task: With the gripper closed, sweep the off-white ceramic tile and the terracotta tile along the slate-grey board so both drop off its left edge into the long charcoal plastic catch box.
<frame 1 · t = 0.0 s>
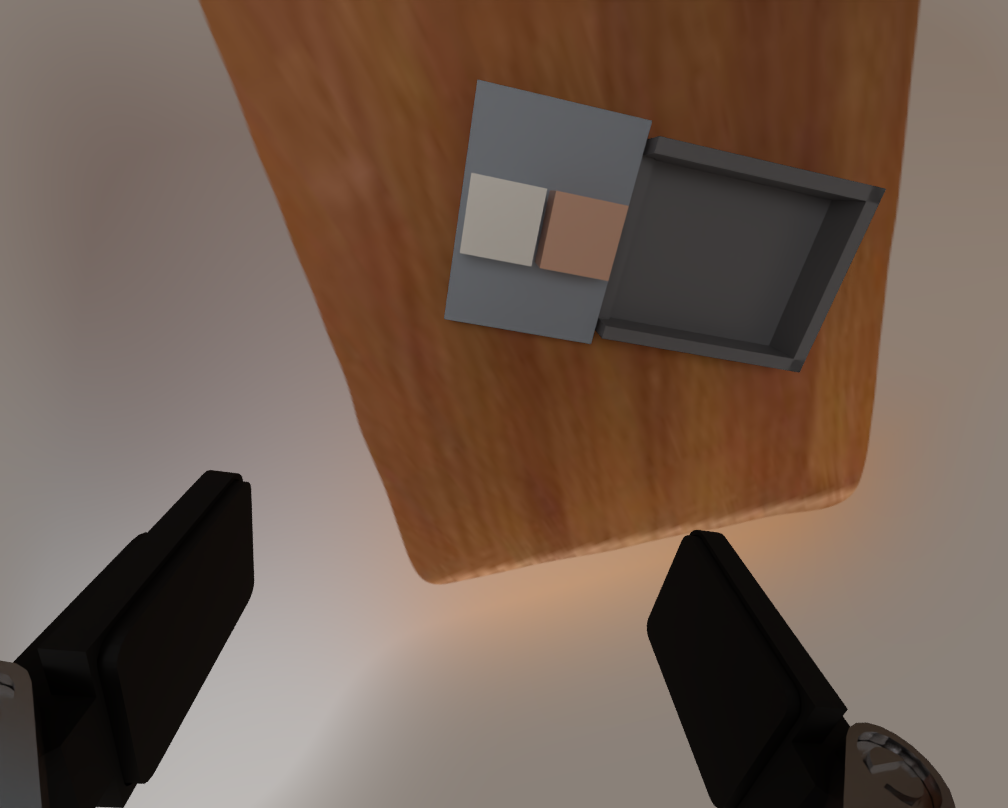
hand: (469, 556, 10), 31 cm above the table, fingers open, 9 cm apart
tile b: (574, 233, 35), point 2 cm above the table, touching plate
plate: (536, 224, 37), on the table
tile a: (500, 218, 34), point 2 cm above the table, touching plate
catch box: (712, 259, 39), on the table
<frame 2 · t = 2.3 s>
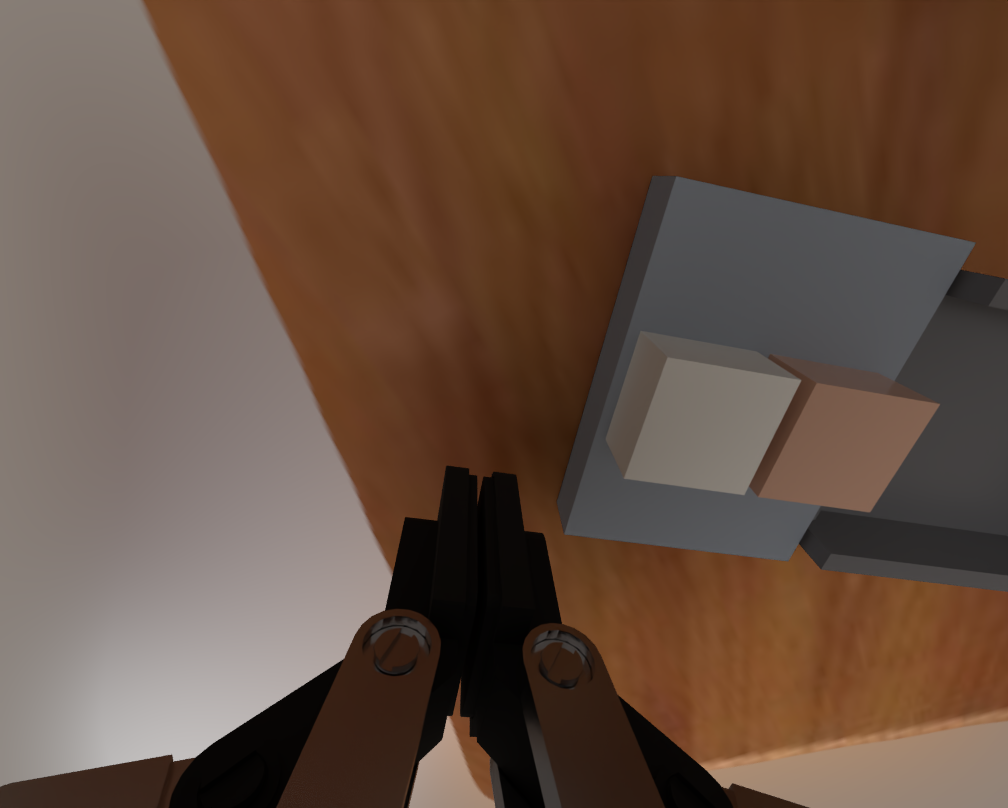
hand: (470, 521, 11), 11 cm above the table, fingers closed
tile b: (798, 416, 21), point 2 cm above the table, touching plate
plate: (717, 384, 23), on the table
tile a: (678, 396, 20), point 2 cm above the table, touching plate
catch box: (982, 428, 24), on the table
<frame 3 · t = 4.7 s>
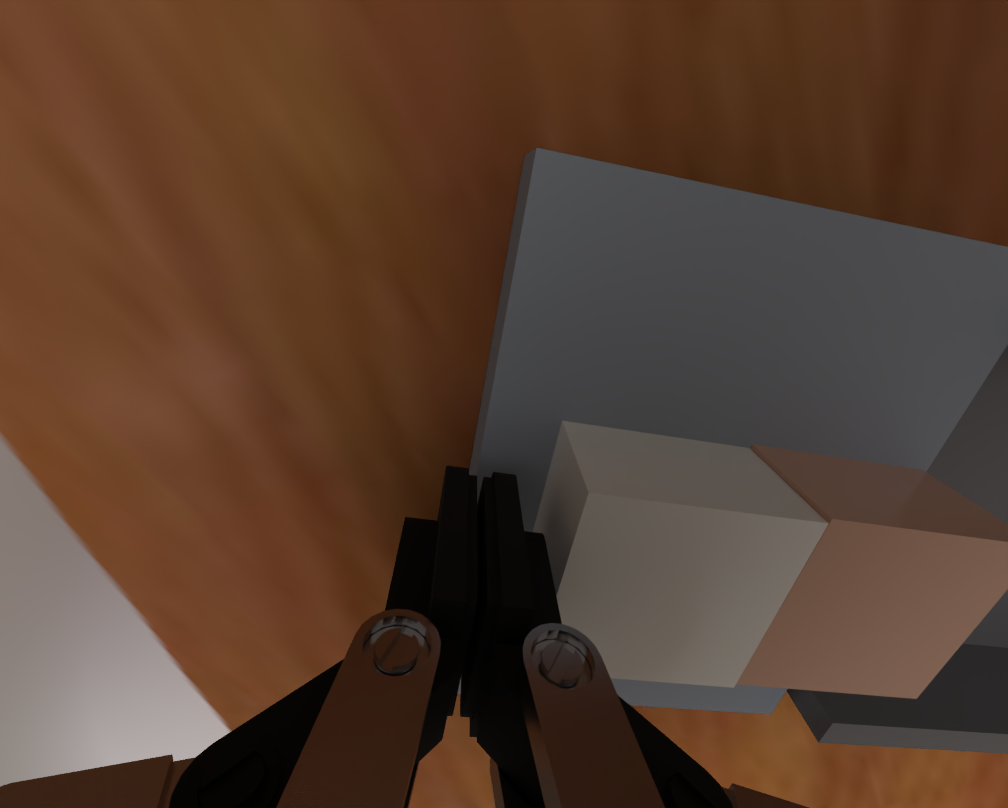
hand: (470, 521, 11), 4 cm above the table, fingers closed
tile b: (798, 532, 13), point 2 cm above the table, touching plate
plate: (657, 468, 15), on the table
tile a: (629, 514, 13), point 3 cm above the table, touching gripper
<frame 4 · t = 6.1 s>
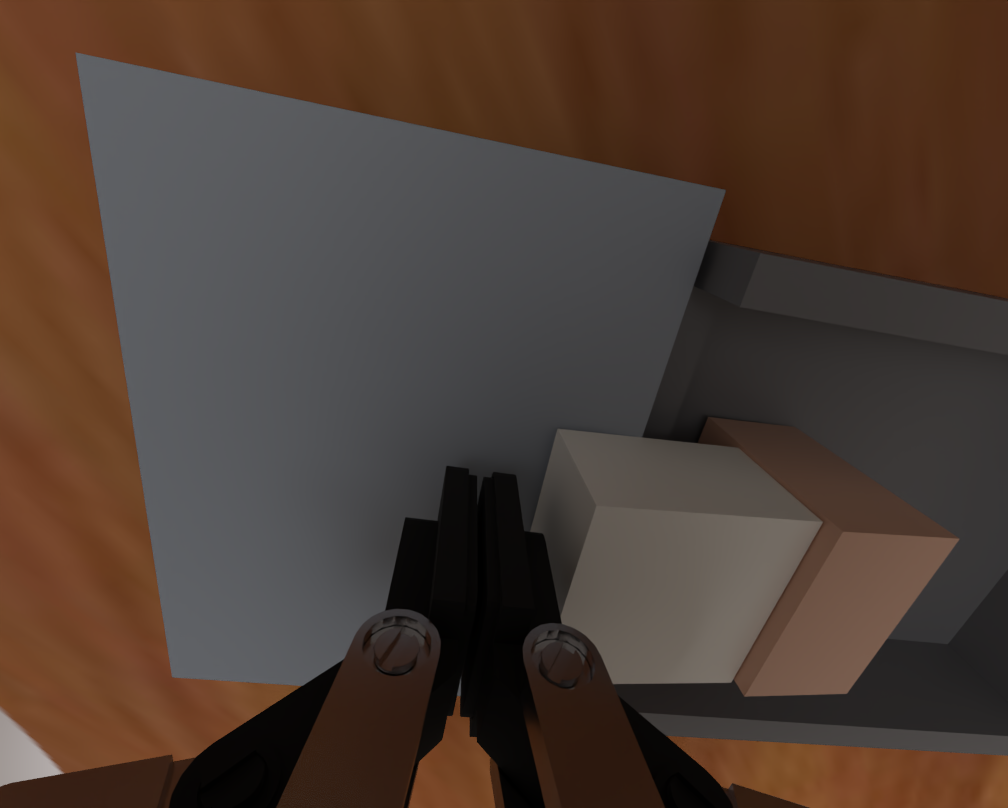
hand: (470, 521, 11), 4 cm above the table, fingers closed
tile b: (724, 543, 13), point 3 cm above the table, tilted 96°, touching catch box
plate: (405, 436, 14), on the table
tile a: (623, 518, 13), point 2 cm above the table, tilted 5°, touching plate
catch box: (843, 494, 16), on the table
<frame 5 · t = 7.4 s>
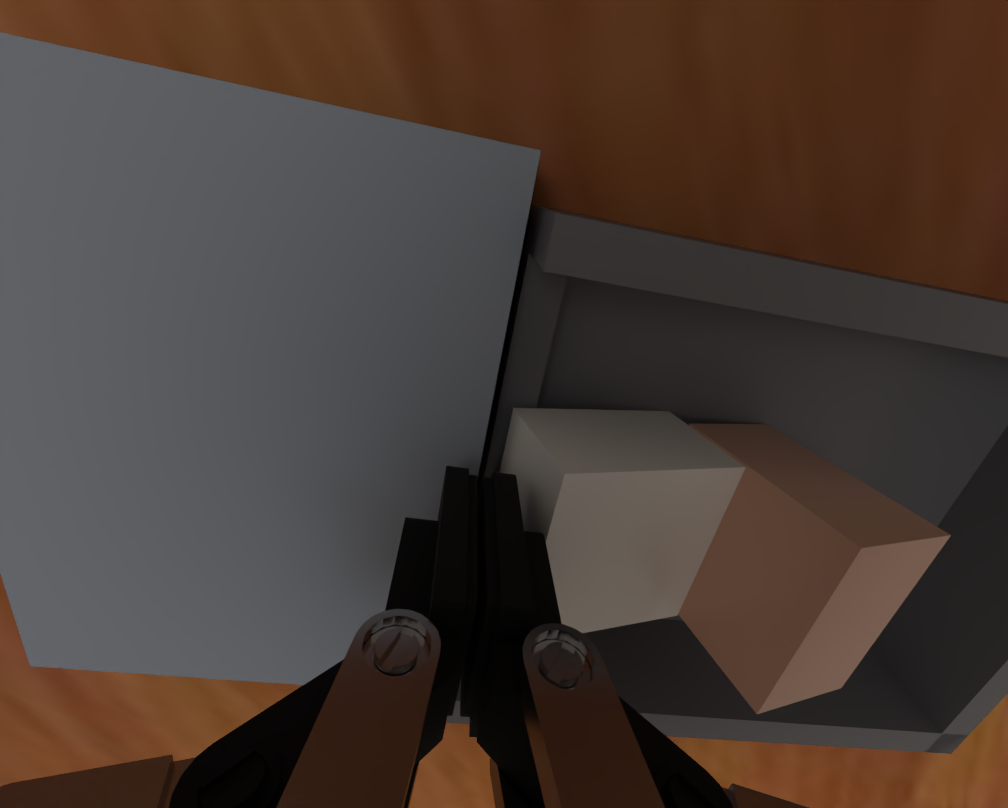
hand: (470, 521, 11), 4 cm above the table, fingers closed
tile b: (720, 555, 12), point 4 cm above the table, tilted 106°, touching catch box, tile a
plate: (271, 417, 14), on the table
tile a: (574, 484, 14), point 1 cm above the table, tilted 17°, touching catch box, gripper, tile b
catch box: (738, 481, 16), on the table
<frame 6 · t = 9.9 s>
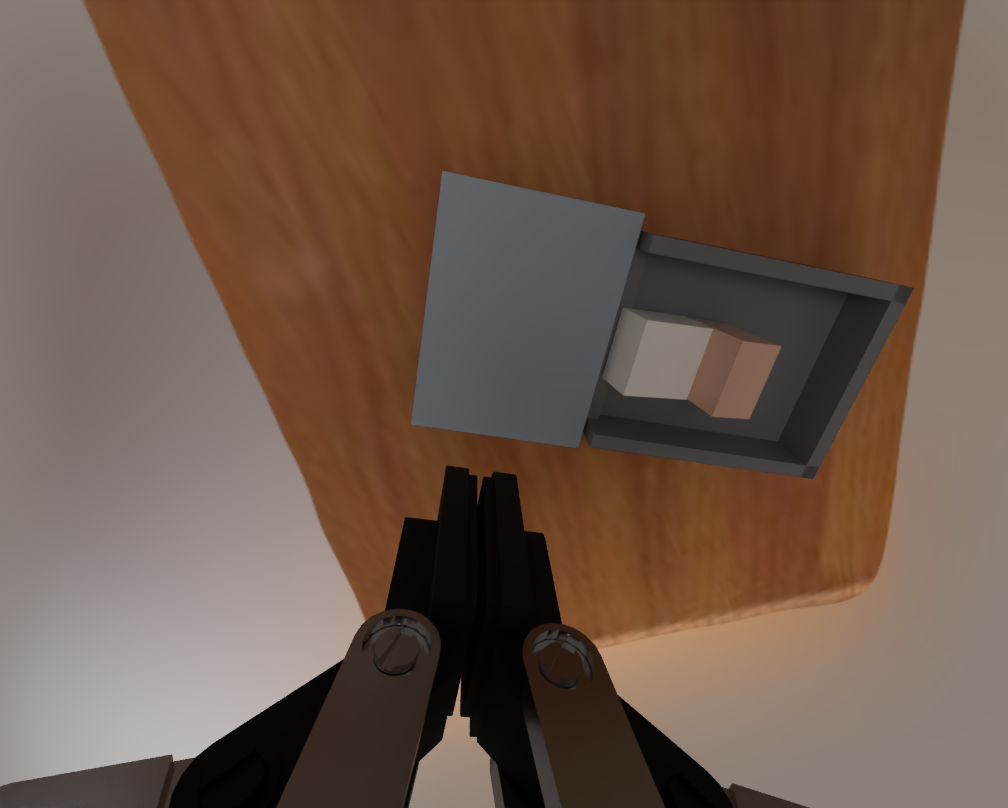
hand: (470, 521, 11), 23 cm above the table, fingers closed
tile b: (701, 365, 31), point 3 cm above the table, tilted 102°, touching catch box, tile a
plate: (515, 317, 33), on the table
tile a: (643, 346, 33), point 1 cm above the table, tilted 14°, touching catch box, tile b
catch box: (714, 352, 34), on the table
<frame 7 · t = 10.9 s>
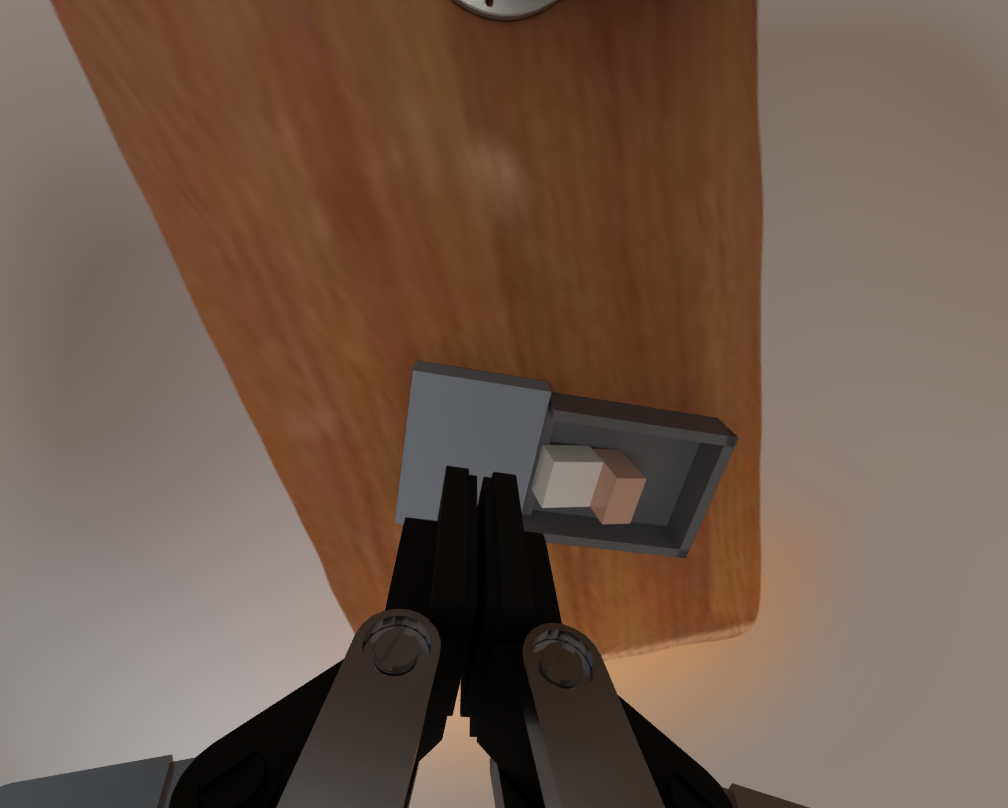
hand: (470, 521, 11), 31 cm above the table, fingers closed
tile b: (597, 485, 44), point 3 cm above the table, tilted 102°, touching catch box, tile a
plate: (469, 447, 46), on the table
tile a: (560, 467, 46), point 1 cm above the table, tilted 14°, touching catch box, tile b
catch box: (614, 467, 48), on the table
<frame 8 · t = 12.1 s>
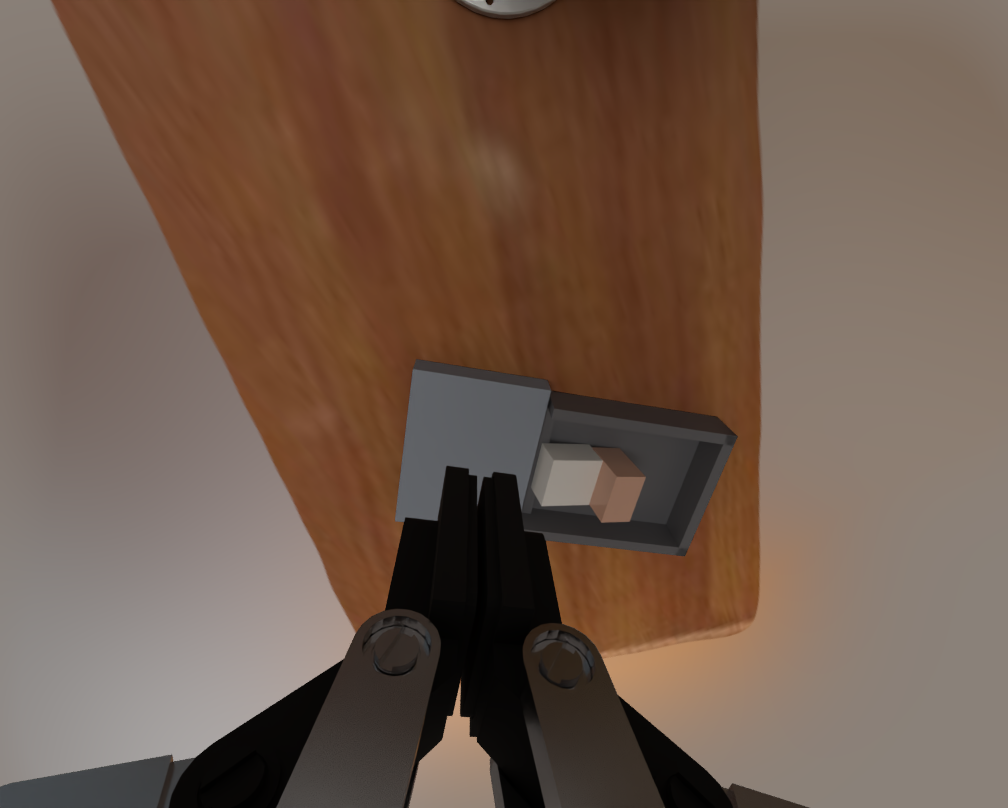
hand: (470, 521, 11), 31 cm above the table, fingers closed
tile b: (596, 483, 44), point 3 cm above the table, tilted 102°, touching catch box, tile a
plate: (469, 446, 46), on the table
tile a: (559, 465, 46), point 1 cm above the table, tilted 14°, touching catch box, tile b
catch box: (614, 466, 48), on the table
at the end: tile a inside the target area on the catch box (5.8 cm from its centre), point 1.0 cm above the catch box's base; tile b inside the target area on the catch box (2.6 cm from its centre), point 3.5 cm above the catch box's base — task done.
